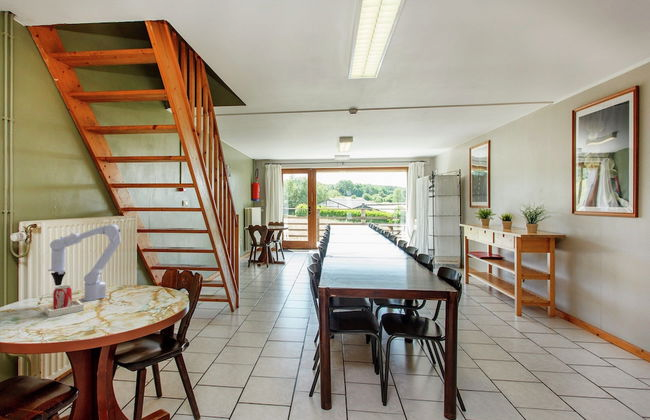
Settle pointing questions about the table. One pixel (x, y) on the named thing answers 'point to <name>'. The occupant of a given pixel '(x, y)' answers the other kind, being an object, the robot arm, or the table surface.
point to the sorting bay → (64, 309)
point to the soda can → (62, 297)
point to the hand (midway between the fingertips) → (58, 285)
